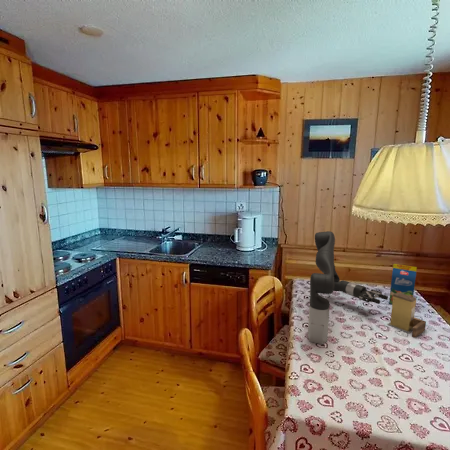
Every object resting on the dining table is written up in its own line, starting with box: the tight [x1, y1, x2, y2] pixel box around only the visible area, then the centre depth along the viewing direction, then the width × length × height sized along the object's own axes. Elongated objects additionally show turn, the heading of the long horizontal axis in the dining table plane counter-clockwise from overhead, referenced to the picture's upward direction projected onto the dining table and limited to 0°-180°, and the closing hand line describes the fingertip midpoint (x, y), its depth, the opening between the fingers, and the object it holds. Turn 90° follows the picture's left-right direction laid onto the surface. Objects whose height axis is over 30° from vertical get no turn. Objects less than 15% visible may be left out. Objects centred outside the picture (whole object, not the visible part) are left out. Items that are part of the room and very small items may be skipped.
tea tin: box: [389, 292, 417, 332], centre depth 157 cm, size 9×5×17 cm, turn 36°
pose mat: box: [387, 322, 413, 334], centre depth 159 cm, size 11×7×1 cm, turn 36°
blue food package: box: [388, 263, 418, 305], centre depth 182 cm, size 6×12×25 cm, turn 56°
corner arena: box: [411, 316, 427, 339], centre depth 157 cm, size 16×12×5 cm
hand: (383, 300), depth 164 cm, fingers open, 8 cm apart
